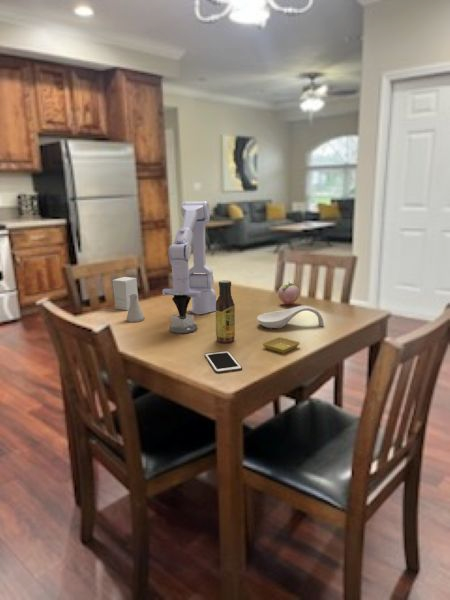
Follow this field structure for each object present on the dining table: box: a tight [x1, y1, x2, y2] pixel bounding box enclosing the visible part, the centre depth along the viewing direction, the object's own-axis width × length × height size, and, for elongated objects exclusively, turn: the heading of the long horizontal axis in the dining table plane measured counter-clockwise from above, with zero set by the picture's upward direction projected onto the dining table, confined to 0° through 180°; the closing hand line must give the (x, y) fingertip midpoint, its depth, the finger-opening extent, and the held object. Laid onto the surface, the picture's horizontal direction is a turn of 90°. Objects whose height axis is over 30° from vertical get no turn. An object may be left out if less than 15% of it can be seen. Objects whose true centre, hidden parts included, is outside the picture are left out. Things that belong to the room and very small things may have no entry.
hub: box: [168, 317, 198, 335], centre depth 162 cm, size 10×10×4 cm
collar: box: [170, 313, 195, 330], centre depth 162 cm, size 6×6×4 cm
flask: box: [125, 293, 145, 323], centre depth 175 cm, size 7×7×10 cm
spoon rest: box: [256, 305, 325, 329], centre depth 163 cm, size 24×12×7 cm, turn 91°
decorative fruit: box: [277, 282, 300, 306], centre depth 190 cm, size 9×8×10 cm
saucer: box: [262, 336, 301, 354], centre depth 142 cm, size 9×9×2 cm
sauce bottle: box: [215, 279, 236, 344], centre depth 148 cm, size 6×6×20 cm
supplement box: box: [112, 276, 140, 311], centre depth 193 cm, size 7×7×13 cm
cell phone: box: [204, 350, 243, 374], centre depth 132 cm, size 8×15×1 cm, turn 16°
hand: (182, 315), depth 161 cm, fingers closed
